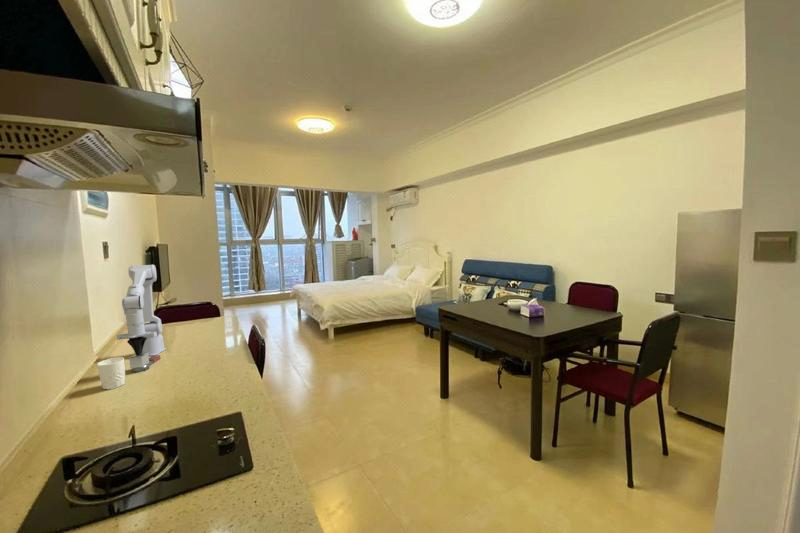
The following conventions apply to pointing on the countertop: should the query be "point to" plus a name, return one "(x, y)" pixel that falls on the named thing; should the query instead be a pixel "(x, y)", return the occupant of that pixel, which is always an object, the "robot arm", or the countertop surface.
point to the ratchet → (146, 367)
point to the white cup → (112, 373)
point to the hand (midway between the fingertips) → (139, 354)
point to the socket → (139, 360)
